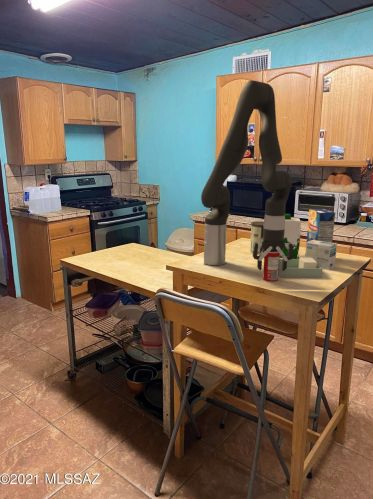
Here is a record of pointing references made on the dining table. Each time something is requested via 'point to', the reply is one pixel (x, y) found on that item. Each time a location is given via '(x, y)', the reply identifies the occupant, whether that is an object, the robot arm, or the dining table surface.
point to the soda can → (271, 267)
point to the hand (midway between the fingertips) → (271, 270)
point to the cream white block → (307, 263)
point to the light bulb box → (322, 253)
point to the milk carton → (292, 234)
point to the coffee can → (256, 235)
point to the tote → (298, 270)
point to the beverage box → (320, 225)
